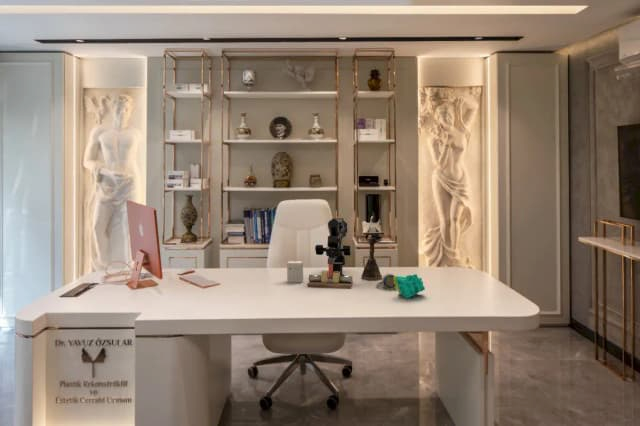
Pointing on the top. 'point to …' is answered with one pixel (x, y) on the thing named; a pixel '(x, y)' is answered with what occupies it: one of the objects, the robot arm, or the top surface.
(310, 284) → the walnut board
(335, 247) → the robot arm
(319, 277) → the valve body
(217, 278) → the top surface
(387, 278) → the ceramic mug
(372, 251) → the bird statue
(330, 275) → the lever
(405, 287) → the teal lumpy block
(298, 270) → the small box
